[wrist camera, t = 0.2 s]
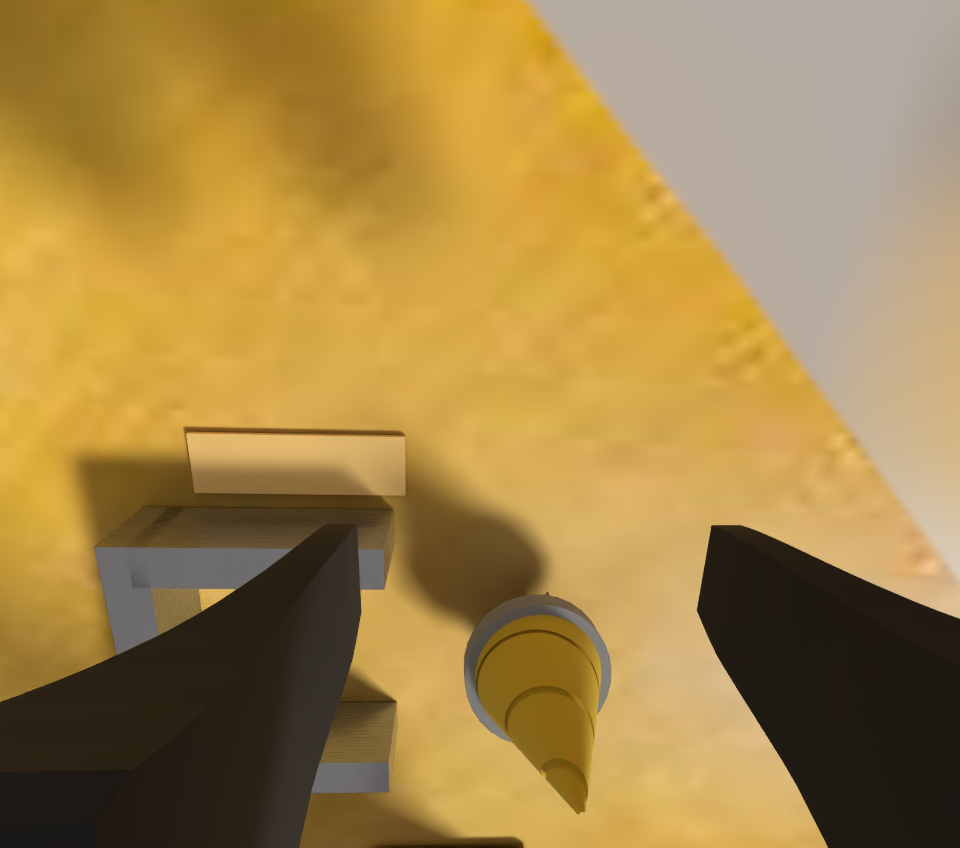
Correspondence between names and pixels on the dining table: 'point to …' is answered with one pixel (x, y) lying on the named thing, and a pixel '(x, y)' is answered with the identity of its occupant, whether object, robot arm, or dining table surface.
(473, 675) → the grooved yellow cone
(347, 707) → the bracket
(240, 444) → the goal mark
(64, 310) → the dining table surface
